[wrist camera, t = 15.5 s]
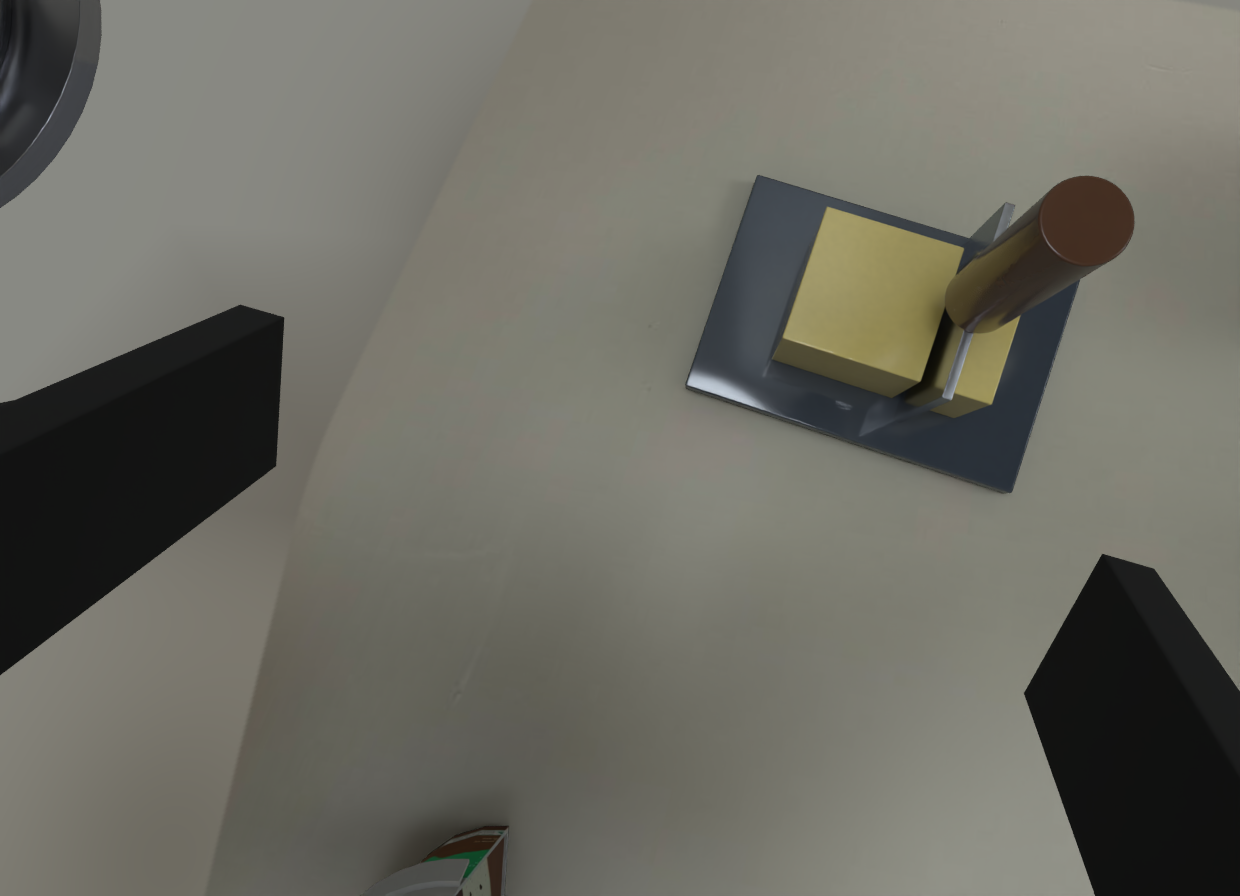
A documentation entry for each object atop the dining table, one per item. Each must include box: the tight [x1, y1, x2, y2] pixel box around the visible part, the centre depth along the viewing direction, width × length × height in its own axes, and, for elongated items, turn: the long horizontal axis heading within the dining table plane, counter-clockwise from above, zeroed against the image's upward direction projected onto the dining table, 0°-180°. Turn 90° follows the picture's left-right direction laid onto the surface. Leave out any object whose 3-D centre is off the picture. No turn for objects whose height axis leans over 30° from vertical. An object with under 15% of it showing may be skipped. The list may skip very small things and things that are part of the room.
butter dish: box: [685, 175, 1080, 493], centre depth 39 cm, size 16×11×6 cm
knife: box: [893, 176, 1134, 423], centre depth 33 cm, size 3×8×17 cm, turn 161°
